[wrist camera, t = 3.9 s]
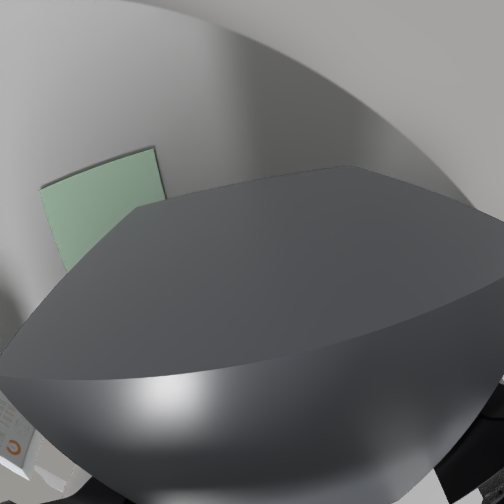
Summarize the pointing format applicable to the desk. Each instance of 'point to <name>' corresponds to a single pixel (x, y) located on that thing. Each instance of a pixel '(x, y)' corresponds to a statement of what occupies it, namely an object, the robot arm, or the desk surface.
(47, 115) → the desk surface
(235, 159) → the desk surface
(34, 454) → the small box
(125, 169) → the tape square
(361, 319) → the large grey box
